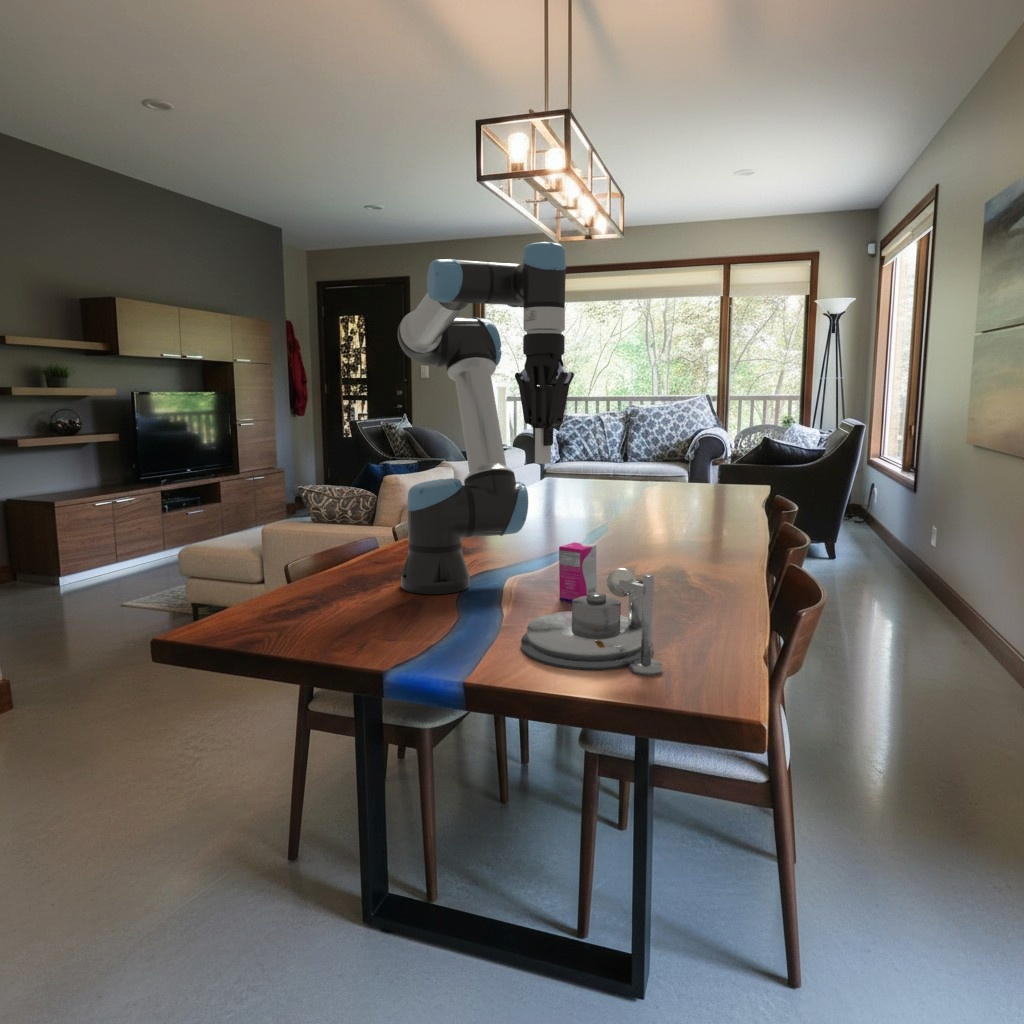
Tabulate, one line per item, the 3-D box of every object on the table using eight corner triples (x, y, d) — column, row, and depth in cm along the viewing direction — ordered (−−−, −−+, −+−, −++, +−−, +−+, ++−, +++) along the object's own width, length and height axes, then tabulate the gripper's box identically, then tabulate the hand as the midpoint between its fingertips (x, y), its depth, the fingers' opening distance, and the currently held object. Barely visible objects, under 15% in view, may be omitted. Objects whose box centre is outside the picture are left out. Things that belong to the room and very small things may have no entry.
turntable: (518, 624, 135) (518, 570, 134) (626, 619, 138) (627, 567, 137) (539, 663, 116) (539, 601, 114) (663, 656, 119) (666, 596, 117)
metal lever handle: (597, 668, 118) (599, 573, 115) (607, 658, 122) (609, 566, 120) (657, 678, 113) (660, 579, 111) (665, 667, 118) (669, 572, 115)
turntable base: (498, 657, 122) (498, 650, 122) (551, 620, 142) (551, 615, 142) (629, 679, 113) (629, 672, 113) (667, 637, 132) (667, 631, 132)
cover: (566, 625, 128) (567, 589, 127) (612, 622, 130) (613, 587, 129) (577, 640, 121) (578, 602, 120) (626, 637, 122) (627, 600, 121)
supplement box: (573, 594, 160) (574, 541, 159) (597, 598, 157) (598, 544, 155) (557, 599, 156) (558, 545, 154) (581, 604, 152) (582, 549, 151)
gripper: (504, 334, 139) (504, 462, 142) (556, 330, 129) (554, 467, 133) (532, 336, 144) (532, 459, 147) (584, 332, 134) (582, 464, 138)
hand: (542, 463), depth 140 cm, fingers closed
